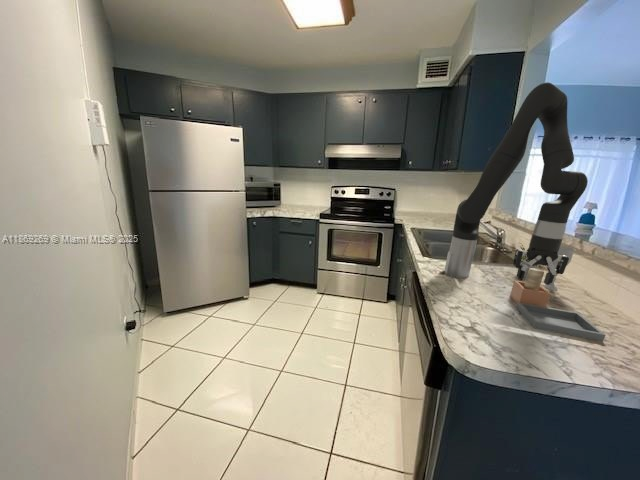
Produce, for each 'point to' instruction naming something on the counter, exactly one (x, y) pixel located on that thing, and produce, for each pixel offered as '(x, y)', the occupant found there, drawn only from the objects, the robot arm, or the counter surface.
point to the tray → (560, 321)
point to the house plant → (529, 266)
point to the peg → (533, 279)
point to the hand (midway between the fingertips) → (533, 281)
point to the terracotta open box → (529, 294)
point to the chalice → (562, 251)
